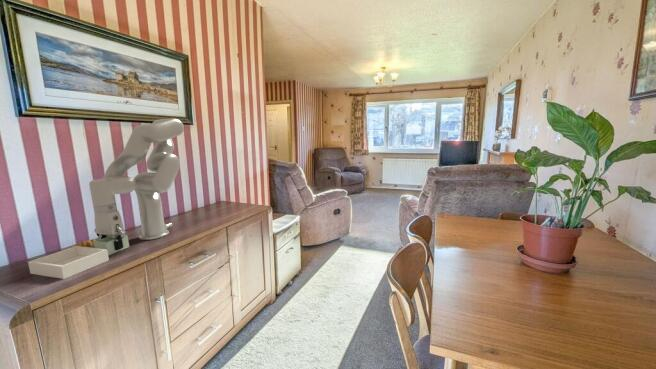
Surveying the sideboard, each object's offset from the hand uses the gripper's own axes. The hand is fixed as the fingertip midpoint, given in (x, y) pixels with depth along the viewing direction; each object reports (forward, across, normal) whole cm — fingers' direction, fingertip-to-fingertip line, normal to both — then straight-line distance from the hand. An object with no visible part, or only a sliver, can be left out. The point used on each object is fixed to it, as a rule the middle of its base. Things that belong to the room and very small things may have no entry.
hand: (112, 248), depth 116 cm
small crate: (+1, 0, 0) cm, 1 cm away
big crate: (+1, 0, +15) cm, 15 cm away
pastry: (+2, +14, +1) cm, 15 cm away
